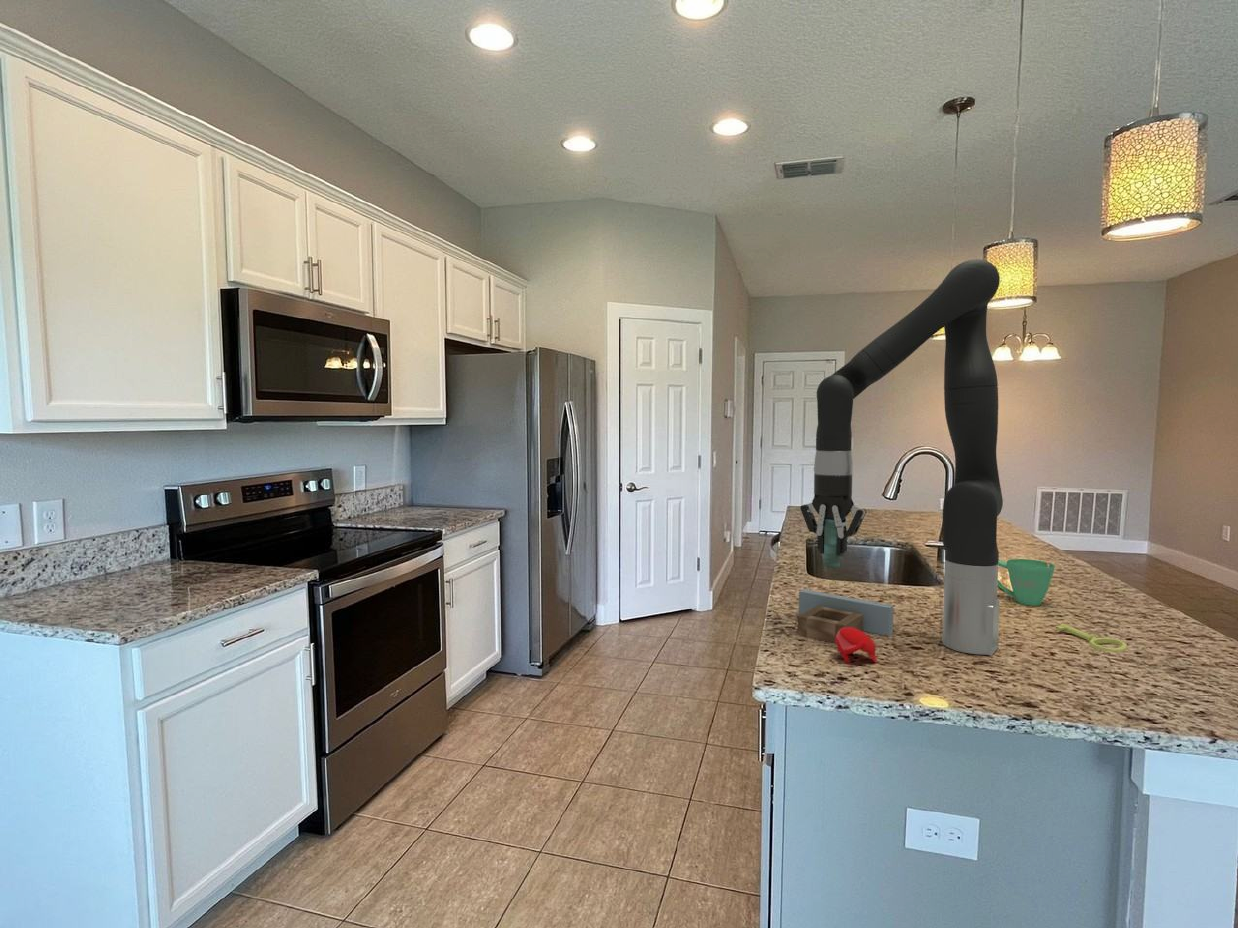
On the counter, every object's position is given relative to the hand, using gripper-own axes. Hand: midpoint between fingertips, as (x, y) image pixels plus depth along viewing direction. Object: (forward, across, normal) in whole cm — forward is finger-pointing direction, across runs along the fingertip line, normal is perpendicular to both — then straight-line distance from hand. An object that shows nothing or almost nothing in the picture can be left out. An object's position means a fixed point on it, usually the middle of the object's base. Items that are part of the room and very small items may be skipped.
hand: (831, 553), depth 130 cm
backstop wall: (+17, 0, -8) cm, 19 cm away
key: (+18, -42, -30) cm, 55 cm away
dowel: (+3, 0, 0) cm, 3 cm away
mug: (+17, -26, -54) cm, 62 cm away
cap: (+17, -9, +11) cm, 23 cm away
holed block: (+17, 0, 0) cm, 17 cm away
